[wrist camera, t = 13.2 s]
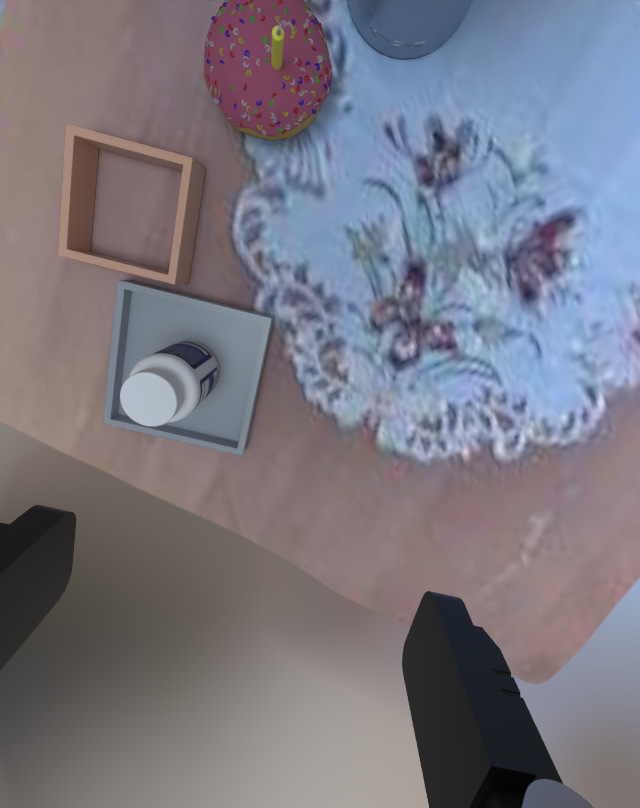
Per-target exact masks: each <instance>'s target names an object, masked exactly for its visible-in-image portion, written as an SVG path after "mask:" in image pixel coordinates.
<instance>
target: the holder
mask: <svg viewBox="0 0 640 808" xmlns="http://www.w3.org/2000/svg"><path fill="white" fill-rule="evenodd" d="M99 149H100V150H104V151H107V152H111V153H115V154H118V155H122V156H126V157H130V158H133V159H137V160H141V161H144V162H148V163H152V164H156V165H159V166H163V167H167V168H170V169H174V170H178V171H182V178H181V185H180V192H179V200H178V207H177V214H176V222H175V229H174V237H173V244H172V251H171V259H170V266H169V272H168V271H164V270H160V269H156V268H152V267H148V266H144V265H141V264H137V263H133V262H129V261H125V260H121V259H117V258H113V257H109V256H105V255H101V254H97V253H94V252H91V241H92V229H93V217H94V205H95V193H96V181H97V169H98V156H99ZM205 171H206V170H205V169H204V168H203V167H202V166H201V165H200V164H199V163H198V162H196V161H195V160H194V159H193V158H191V157H187V156H183V155H180V154H176V153H172V152H169V151H165V150H161V149H158V148H154V147H150V146H147V145H143V144H139V143H136V142H132V141H128V140H125V139H121V138H117V137H113V136H110V135H106V134H102V133H99V132H95V131H91V130H88V129H84V128H80V127H77V126H73V125H69V124H66V137H65V154H64V170H63V186H62V203H61V219H60V235H59V251H58V255H60V256H64V257H68V258H72V259H75V260H79V261H83V262H87V263H91V264H95V265H99V266H103V267H107V268H111V269H115V270H119V271H123V272H127V273H131V274H135V275H139V276H143V277H146V278H150V279H154V280H158V281H162V282H166V283H170V284H174V285H178V284H189V277H190V271H191V264H192V257H193V251H194V244H195V237H196V231H197V224H198V217H199V211H200V204H201V197H202V191H203V184H204V177H205Z"/></svg>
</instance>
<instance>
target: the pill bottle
mask: <svg viewBox="0 0 640 808" xmlns="http://www.w3.org/2000/svg"><path fill="white" fill-rule="evenodd" d="M218 379H219V366H218V362H217V360H216V358H215V356H214V355H213V354H212V352H211V351H210V350H209V349H208V348H206V347H205V346H203V345H202V344H199V343H197V342H193V341H182V342H178V343H175V344H172V345H170V346H168V347H166V348H164V349H162V350H160V351H158V352H155V353H153V354H151V355H149V356H147V357H145V358H144V359H142V360H141V361H139V362H138V363H137V364H136V365H135V366H134V368H133V369H132V371H131V373H130V375H129V378H128V379H127V380H126V381H125V382H124V384H123V386H122V388H121V392H120V400H121V404H122V407H123V409H124V411H125V412H126V414H127V415H128V416H129V417H130V418H131V419H132V420H134V421H135V422H137V423H139V424H141V425H145V426H160V425H163V424H165V423H169V422H175V421H179V420H181V419H183V418H185V417H186V416H188V415H189V414H190V413H191V412H193V411H194V410H195V408H196V407H197V406H198V405H199V404H200V403H201V402H202V401H203V400H204V399H205V398H206V397H207V396H208V395H209V394H210V393H211V392H212V391H213V389H214V388H215V386H216V385H217V382H218Z"/></svg>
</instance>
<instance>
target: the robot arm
mask: <svg viewBox="0 0 640 808" xmlns="http://www.w3.org/2000/svg"><path fill="white" fill-rule="evenodd" d="M472 1H473V0H347V3H348V7H349V10H350V14H351V17H352V20H353V22H354V24H355V25H356V27H357V29H358V31H359V33H360V34H361V35H362V36H363V38H364V39H365V40H366V41H367V42H368V44H370V45H371V46H372V47H374V48H375V49H376V50H377V51H379V52H381V53H383V54H385V55H388V56H390V57H394V58H401V59H409V58H418V57H420V56H423V55H426V54H429V53H431V52H432V51H434V50H436V49H437V48H439V47H440V46H442V45H443V44H444V43H445V42H446V41H447V40H448V39H449V38H450V37H451V36H452V35H453V33H454V32H455V31H456V29H457V28H458V26H459V25H460V24H461V22H462V20H463V18H464V16H465V14H466V12H467V11H468V9H469V7H470V5H471V3H472ZM75 529H76V516H75V514H74V513H73V512H69V511H64V510H60V509H55V508H50V507H45V506H41V505H35V506H33V507H31V508H30V509H29V510H27V511H26V512H25V513H24V514H22V515H21V516H20V517H18V518H17V519H16V520H15V521H13V522H12V523H11V524H4V523H0V670H1V669H2V668H3V667H4V666H5V664H6V663H7V662H8V661H9V660H10V658H11V657H12V656H13V655H14V654H15V652H16V651H17V650H18V649H19V647H20V646H21V645H22V644H23V643H24V641H25V640H26V639H27V638H28V637H29V635H30V634H31V633H32V632H33V631H34V629H35V628H36V627H37V626H38V625H39V623H40V622H41V621H42V620H43V618H44V617H45V616H46V615H47V613H48V612H49V611H50V610H51V609H52V608H53V606H54V605H55V604H56V603H57V601H58V600H59V599H60V597H61V596H62V594H63V592H64V591H65V589H66V586H67V584H68V582H69V579H70V575H71V572H72V563H73V552H74V540H75ZM402 668H403V675H404V680H405V685H406V690H407V696H408V701H409V706H410V711H411V716H412V721H413V727H414V732H415V737H416V741H417V747H418V752H419V757H420V762H421V768H422V772H423V777H424V783H425V788H426V793H427V798H428V803H429V808H594V807H593V806H592V805H591V804H590V803H589V802H588V801H587V800H585V799H584V798H583V797H582V796H581V795H579V794H578V793H577V792H575V791H574V790H572V789H571V788H569V787H567V786H566V785H564V784H563V783H562V780H561V778H560V776H559V774H558V772H557V770H556V768H555V766H554V763H553V761H552V759H551V757H550V755H549V753H548V751H547V749H546V746H545V744H544V742H543V740H542V738H541V736H540V734H539V731H538V730H537V727H536V725H535V723H534V721H533V719H532V717H531V714H530V712H529V710H528V708H527V706H526V704H525V701H524V699H523V698H521V697H520V691H519V689H518V687H517V684H516V682H515V680H514V678H513V677H511V672H510V669H509V667H508V665H507V663H506V661H505V659H504V657H503V654H502V652H501V650H500V648H499V647H498V646H497V645H496V644H495V642H494V641H493V640H492V639H491V638H490V637H489V635H488V634H487V633H486V632H485V631H484V629H483V628H482V627H478V626H474V625H473V623H472V621H471V618H470V616H469V614H468V611H467V609H466V606H465V604H464V602H463V601H462V599H460V598H458V597H453V596H448V595H444V594H439V593H435V592H430V591H427V592H426V593H425V594H424V595H423V597H422V600H421V602H420V605H419V607H418V610H417V612H416V615H415V618H414V620H413V623H412V625H411V628H410V630H409V633H408V636H407V638H406V641H405V644H404V649H403V658H402Z"/></svg>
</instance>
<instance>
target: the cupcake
mask: <svg viewBox="0 0 640 808" xmlns="http://www.w3.org/2000/svg"><path fill="white" fill-rule="evenodd" d="M213 18H214V19H213ZM211 19H212V20H213V22H212V24H211V27H210V29H209V32H208V35H207V38H206V43H205V60H204V77H205V82H206V85H207V88H208V90H209V92H210V94H211V95H212V97H213V99H214V101H215V103H216V104H217V105H218V107H219V108H220V110H221V111H222V113H223V114H224V116H225V117H226V119H227V120H228V122H229V123H230V124H231V126H232V127H233V128H234V129H236V130H238V131H240V132H243V133H246V134H248V135H251V136H254V137H258V138H262V139H267V140H282V139H287V138H290V137H293V136H294V135H296V134H297V133H299V132H300V131H302V130H303V129H305V128H307V127H308V126H309V125H310V124H311V123H312V122H313V120H314V119H315V117H316V115H317V113H318V111H319V110H320V108H321V105H322V104H323V102H324V100H325V99H326V98H327V96H328V93H329V90H330V87H331V82H332V66H331V63H330V59H329V53H328V48H327V44H326V41H325V37H324V34H323V30H322V27H321V23H319V21H318V20H317V19H316V17H315V16H314V14H313V12H311V10H310V9H309V7H308V3H307V4H306V3H305V1H304V0H228V1H227V0H225V3H223V6H221V7H220V9H219V12H218V13H217V15H216V16H215V17H212V18H211Z"/></svg>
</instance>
